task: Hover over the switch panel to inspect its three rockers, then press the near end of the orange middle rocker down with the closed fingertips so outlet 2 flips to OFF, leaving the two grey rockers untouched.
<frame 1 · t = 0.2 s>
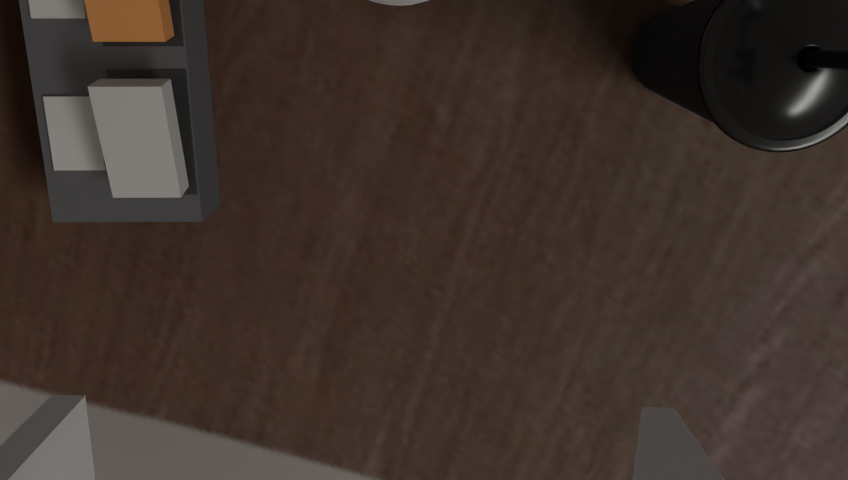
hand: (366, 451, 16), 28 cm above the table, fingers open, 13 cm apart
drinking cup: (669, 53, 41), on the table
rocker 3: (141, 139, 36), point 6 cm above the table, hinge at 12.0°
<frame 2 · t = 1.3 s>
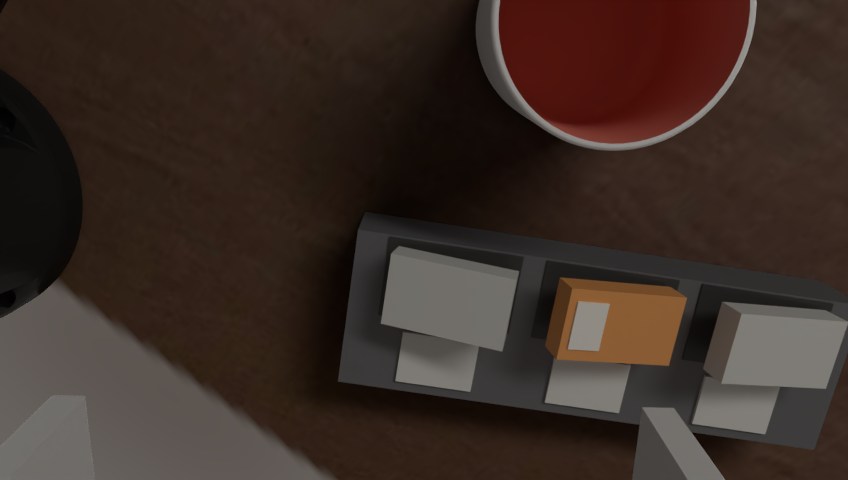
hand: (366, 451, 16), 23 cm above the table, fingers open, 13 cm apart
rocker 2: (615, 322, 33), point 6 cm above the table, hinge at 12.0°
rocker 1: (449, 297, 33), point 6 cm above the table, hinge at -12.0°
cup: (569, 28, 36), on the table
switch panel: (579, 315, 39), on the table
rocker 3: (774, 345, 34), point 6 cm above the table, hinge at 12.0°
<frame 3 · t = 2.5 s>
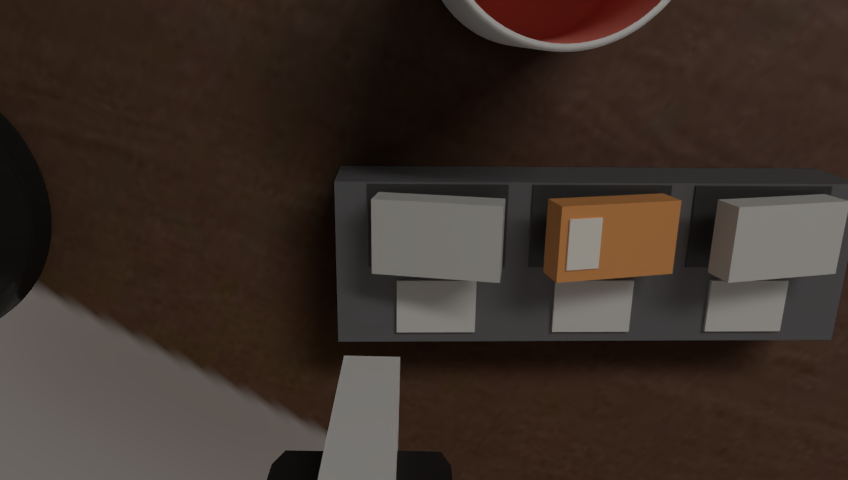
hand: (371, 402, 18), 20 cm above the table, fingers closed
rocker 2: (611, 237, 32), point 6 cm above the table, hinge at 12.0°
rocker 1: (438, 236, 32), point 6 cm above the table, hinge at -12.0°
switch panel: (575, 241, 38), on the table
rocker 3: (777, 237, 32), point 6 cm above the table, hinge at 12.0°
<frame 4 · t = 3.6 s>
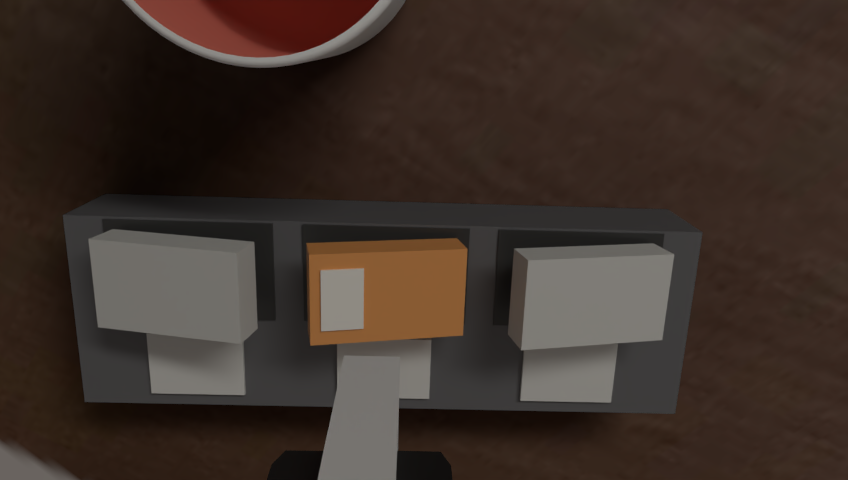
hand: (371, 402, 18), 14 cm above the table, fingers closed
rocker 2: (386, 290, 27), point 6 cm above the table, hinge at 12.0°
rocker 1: (175, 285, 27), point 6 cm above the table, hinge at -12.0°
switch panel: (387, 287, 33), on the table
rocker 3: (589, 295, 27), point 6 cm above the table, hinge at 12.0°
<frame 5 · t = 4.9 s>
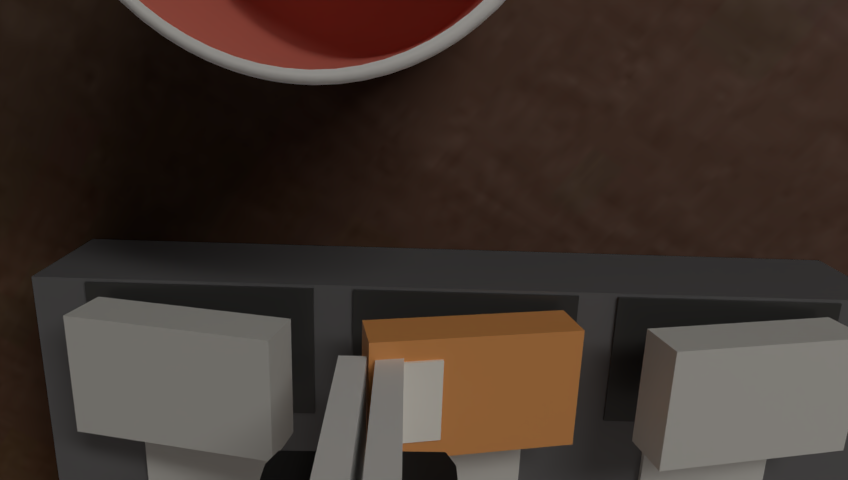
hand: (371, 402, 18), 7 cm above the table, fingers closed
rocker 2: (470, 384, 19), point 6 cm above the table, hinge at 11.3°, touching gripper
rocker 1: (182, 376, 19), point 6 cm above the table, hinge at -12.0°
switch panel: (453, 356, 26), on the table
rocker 3: (747, 390, 20), point 6 cm above the table, hinge at 12.0°
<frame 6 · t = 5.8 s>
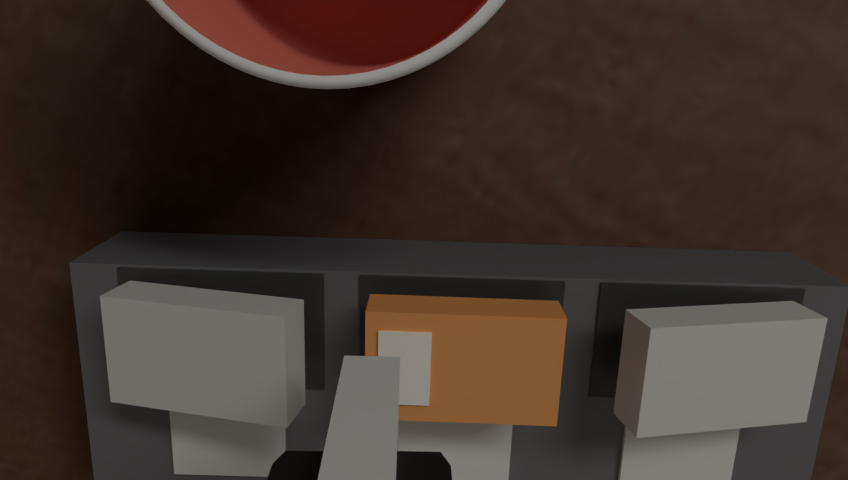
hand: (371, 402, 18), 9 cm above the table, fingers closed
rocker 2: (462, 360, 22), point 6 cm above the table, hinge at -1.1°
rocker 1: (205, 351, 21), point 6 cm above the table, hinge at -12.0°
switch panel: (452, 341, 28), on the table
rocker 3: (717, 366, 22), point 6 cm above the table, hinge at 12.0°
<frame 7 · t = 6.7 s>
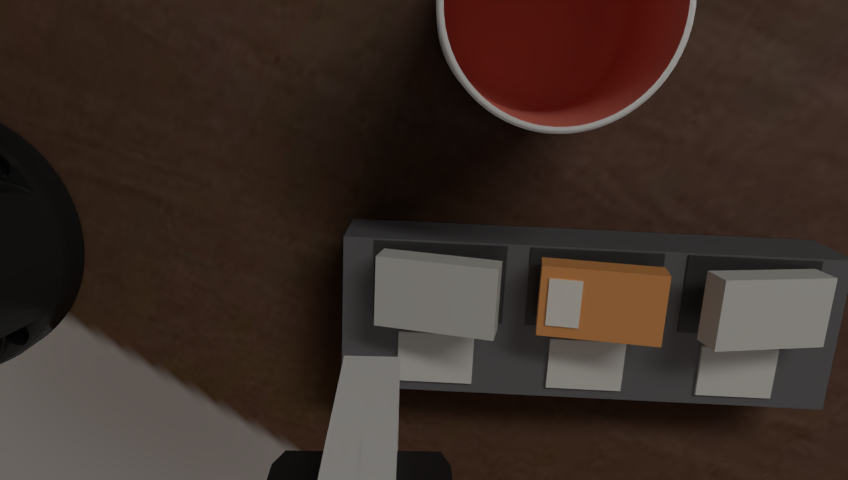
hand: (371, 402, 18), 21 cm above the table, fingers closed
rocker 2: (600, 301, 34), point 6 cm above the table, hinge at -7.5°
rocker 1: (437, 293, 34), point 6 cm above the table, hinge at -12.0°
cup: (531, 17, 36), on the table
switch panel: (574, 299, 40), on the table
rocker 3: (766, 309, 34), point 6 cm above the table, hinge at 12.0°
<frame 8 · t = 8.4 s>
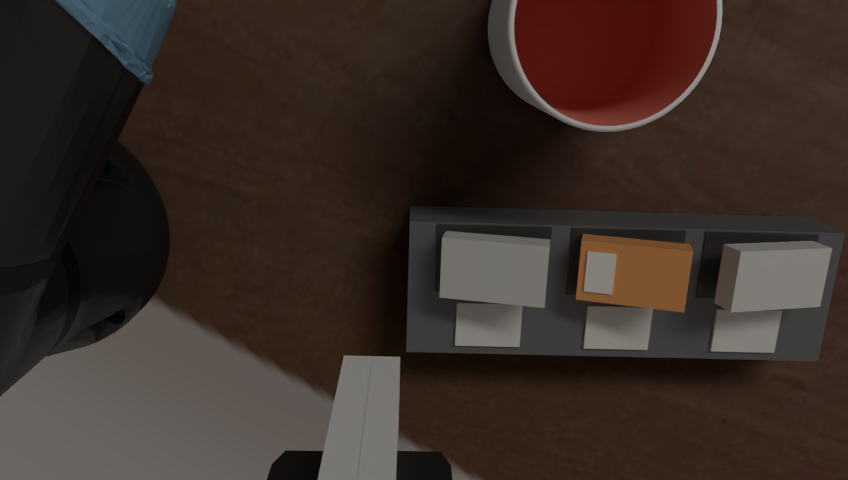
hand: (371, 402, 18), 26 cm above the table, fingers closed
rocker 2: (632, 272, 39), point 6 cm above the table, hinge at -15.8°
rocker 1: (494, 268, 39), point 6 cm above the table, hinge at -12.0°
cup: (567, 27, 41), on the table
switch panel: (603, 272, 46), on the table
rocker 3: (772, 275, 40), point 6 cm above the table, hinge at 12.0°
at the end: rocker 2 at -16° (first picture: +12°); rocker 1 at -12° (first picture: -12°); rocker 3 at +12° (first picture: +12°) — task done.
